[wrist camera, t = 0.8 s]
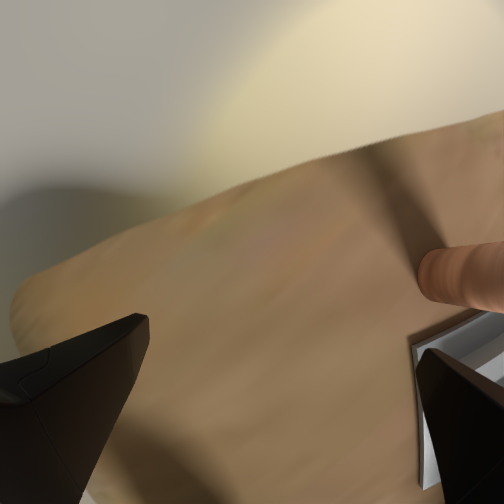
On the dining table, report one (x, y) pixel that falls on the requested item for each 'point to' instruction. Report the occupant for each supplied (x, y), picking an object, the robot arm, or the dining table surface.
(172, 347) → the dining table surface
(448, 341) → the socket block
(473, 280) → the peg
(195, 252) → the dining table surface
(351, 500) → the dining table surface
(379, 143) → the dining table surface
